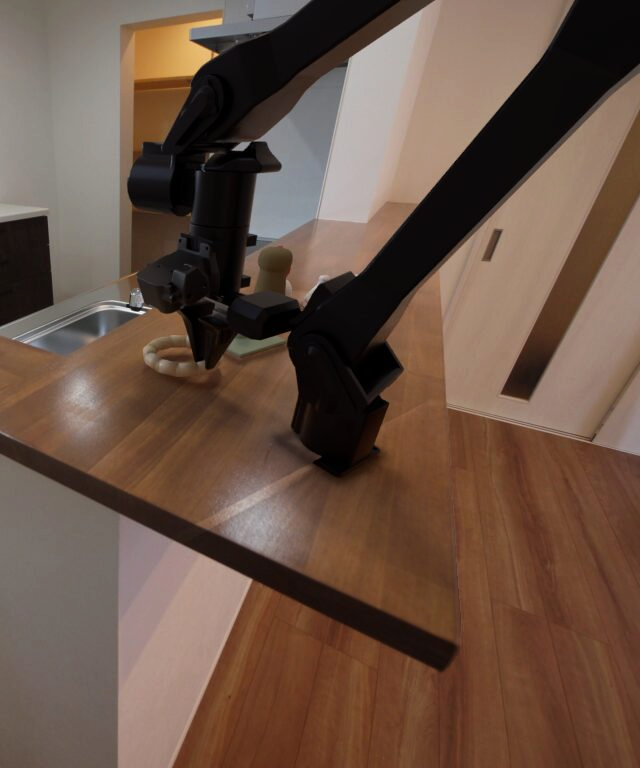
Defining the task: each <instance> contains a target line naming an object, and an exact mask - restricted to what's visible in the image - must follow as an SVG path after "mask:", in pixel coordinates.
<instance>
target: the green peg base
mask: <svg viewBox="0 0 640 768" xmlns="http://www.w3.org/2000/svg"><path fill="white" fill-rule="evenodd" d="M286 343H287V339H285V338H283V337H280V336H279V335H277V336H274V337H270V338H267V339H264V340H251V339H249V338H247V337H245V336H243V335H241V334H239V333H238V335H237V336H236V337H235V338H234V340H233V341H232V343H231V344H230V345H229V347H228V348H227V350H226V351H225V352H228V353H230V354H232V355H234V356H236V357H238V358H239V359H240V358H244V357H247V356H249V355H253V354H255V353H256V354H257V353H260V352H262V351H265V350H268V349H273V348H275V347H278V346H281V345H284V344H286Z"/></svg>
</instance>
